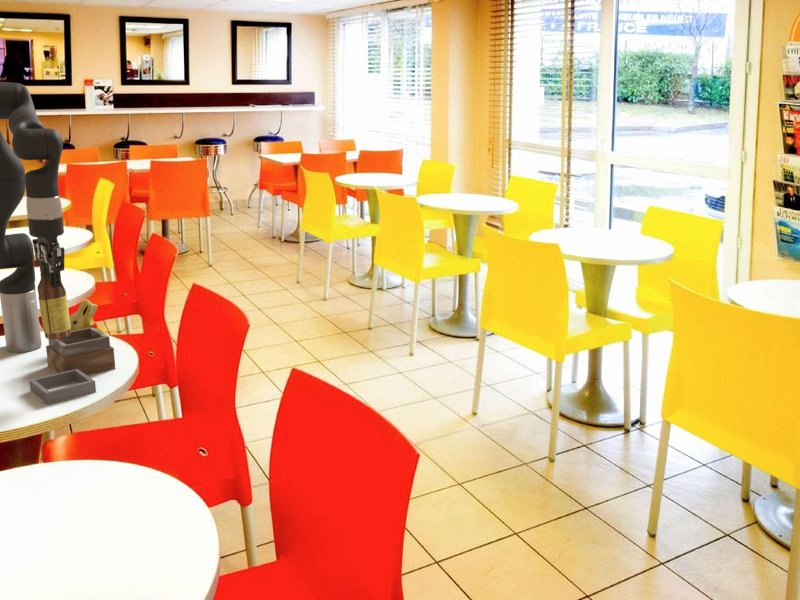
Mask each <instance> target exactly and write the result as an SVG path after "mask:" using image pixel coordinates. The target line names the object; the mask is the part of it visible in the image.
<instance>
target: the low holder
mask: <svg viewBox="0 0 800 600" xmlns="http://www.w3.org/2000/svg"><path fill="white" fill-rule="evenodd" d="M72 383H75V384H72ZM66 384H71V385H67V386H63V385H66ZM59 386H63V387H59ZM96 386H97V385H96V380H94V378H91V377H90V375H88V376H87V375H86V374H84V373H83V372H81V371H80V370H79V369H74V370H69V371H65V372H61V373H53V374H49V375H44V376H41V377H37V378H33V379H29V389H30V392H31V393H33V394H34V395H35V396H36V397H37V398H39V400H41V402H43V403H45V404H46V405H53V404H55V403H60V402H63V401H64V402H65V401H68V400H71V399H74V398H75V399H76V398H78V397H82V396H83V397H84V396H86V395H90V394H94V393H97V387H96ZM55 387H59V388H56V389H52V390H48V389H50V388H55Z"/></svg>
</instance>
